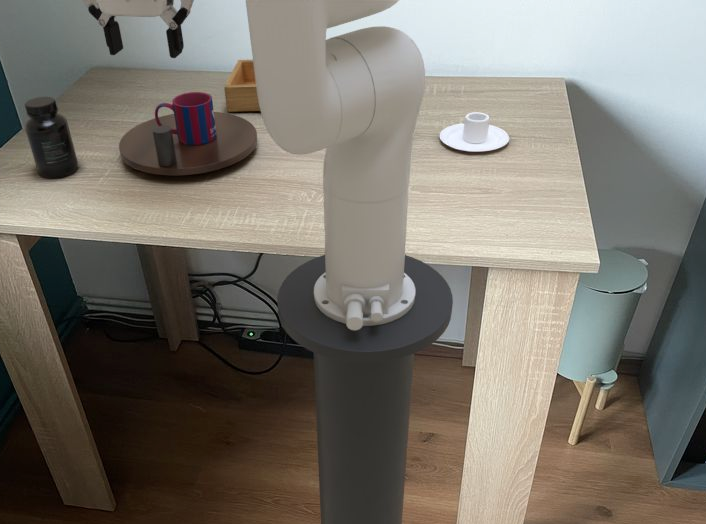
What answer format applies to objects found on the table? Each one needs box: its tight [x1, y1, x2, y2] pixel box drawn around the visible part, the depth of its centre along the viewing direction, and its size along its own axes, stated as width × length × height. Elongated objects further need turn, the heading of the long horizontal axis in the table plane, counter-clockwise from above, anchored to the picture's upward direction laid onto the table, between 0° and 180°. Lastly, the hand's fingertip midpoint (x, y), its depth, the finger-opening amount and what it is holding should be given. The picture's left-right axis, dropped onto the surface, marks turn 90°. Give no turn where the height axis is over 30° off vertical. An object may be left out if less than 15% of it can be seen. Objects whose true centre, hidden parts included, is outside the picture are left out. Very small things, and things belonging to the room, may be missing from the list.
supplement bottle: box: [24, 95, 79, 179], centre depth 122 cm, size 7×7×12 cm
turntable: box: [118, 111, 258, 176], centre depth 125 cm, size 24×24×7 cm
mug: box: [154, 91, 217, 145], centre depth 125 cm, size 7×10×7 cm
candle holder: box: [439, 111, 510, 153], centre depth 127 cm, size 12×12×4 cm
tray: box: [223, 59, 261, 112], centre depth 144 cm, size 31×15×6 cm, turn 84°
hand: (146, 53), depth 108 cm, fingers open, 9 cm apart
